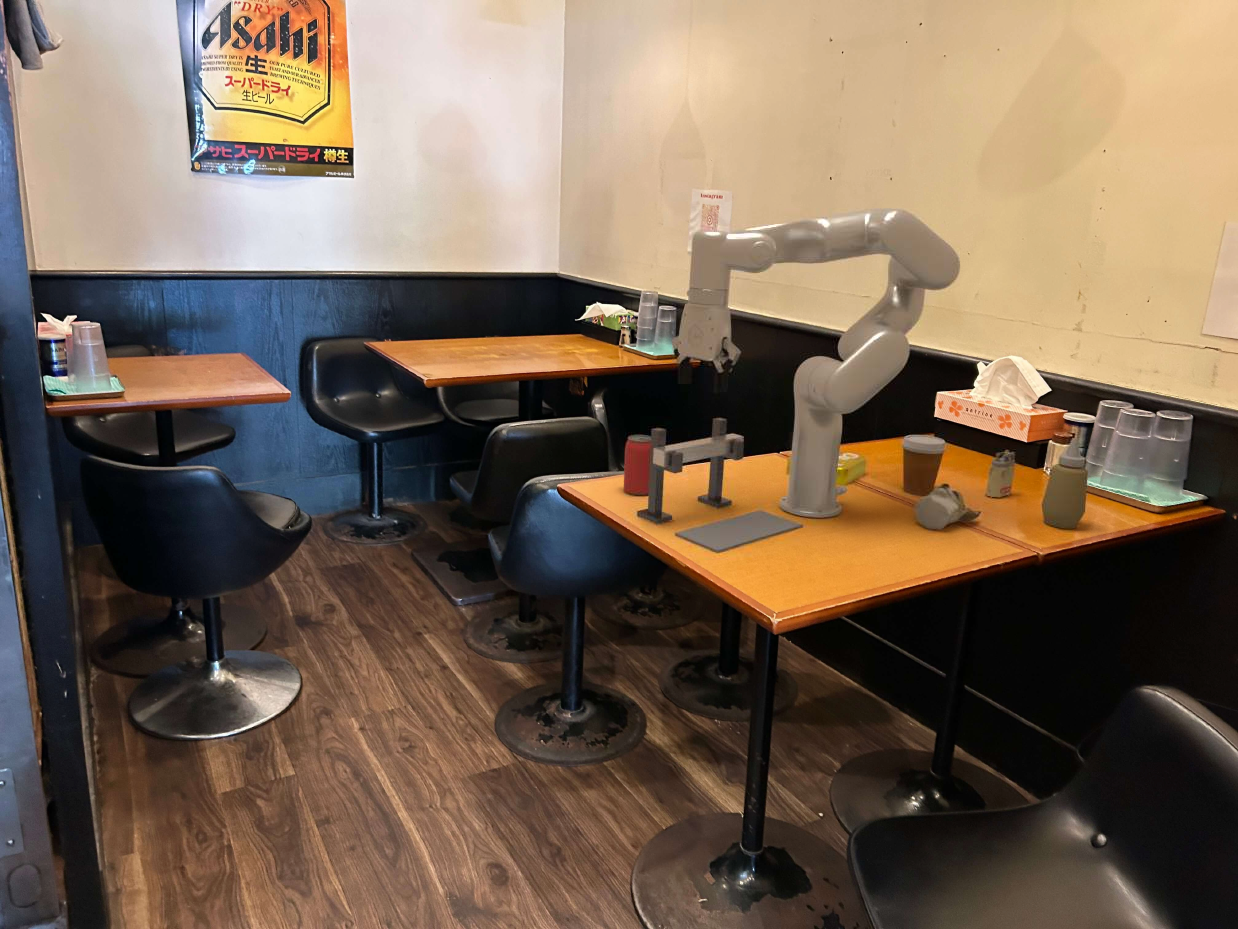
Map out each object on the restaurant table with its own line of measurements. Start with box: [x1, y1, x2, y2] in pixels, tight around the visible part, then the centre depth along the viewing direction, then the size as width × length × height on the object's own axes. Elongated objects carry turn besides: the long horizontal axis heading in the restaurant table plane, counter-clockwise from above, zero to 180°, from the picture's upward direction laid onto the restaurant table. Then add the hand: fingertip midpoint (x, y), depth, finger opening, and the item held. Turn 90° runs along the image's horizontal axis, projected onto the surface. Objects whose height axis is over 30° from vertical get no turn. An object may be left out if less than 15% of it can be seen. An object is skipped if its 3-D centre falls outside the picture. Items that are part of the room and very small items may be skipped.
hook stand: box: [636, 417, 745, 525], centre depth 177 cm, size 21×9×18 cm, turn 130°
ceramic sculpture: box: [914, 483, 982, 530], centre depth 177 cm, size 11×9×15 cm
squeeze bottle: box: [1041, 437, 1089, 529], centre depth 178 cm, size 8×8×18 cm
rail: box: [653, 433, 744, 467], centre depth 175 cm, size 22×3×3 cm, turn 130°
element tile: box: [786, 451, 867, 486], centre depth 210 cm, size 15×15×5 cm
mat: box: [674, 509, 804, 554], centre depth 169 cm, size 24×11×1 cm, turn 130°
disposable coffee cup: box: [901, 434, 947, 496], centre depth 198 cm, size 10×10×12 cm
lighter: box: [985, 449, 1016, 498], centre depth 197 cm, size 7×4×10 cm, turn 129°
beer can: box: [623, 434, 651, 496], centre depth 190 cm, size 7×7×12 cm
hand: (702, 387), depth 171 cm, fingers open, 9 cm apart
